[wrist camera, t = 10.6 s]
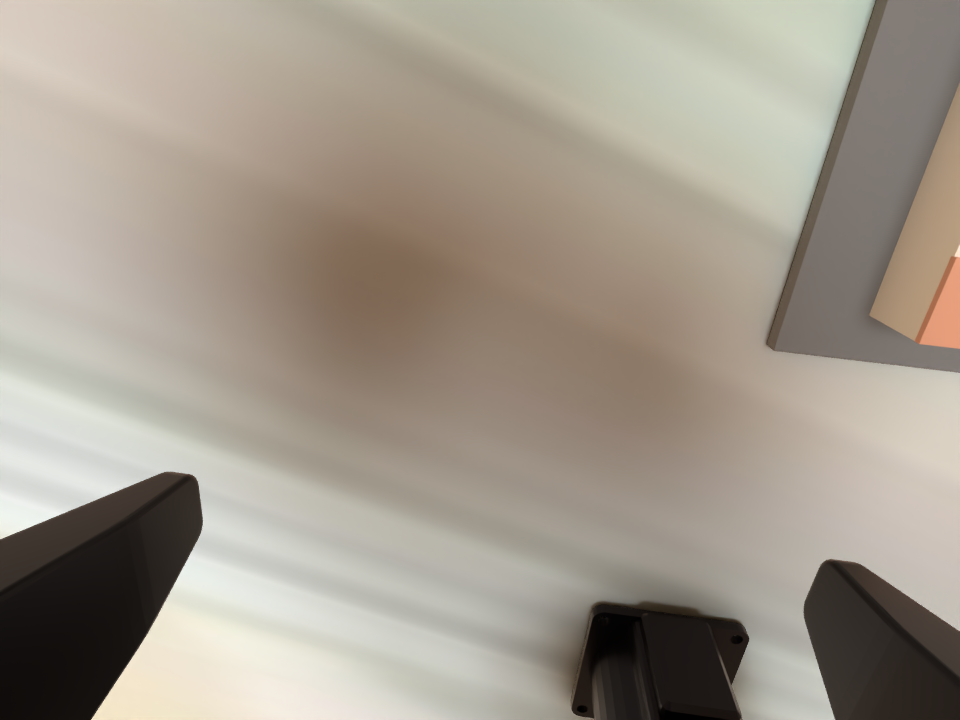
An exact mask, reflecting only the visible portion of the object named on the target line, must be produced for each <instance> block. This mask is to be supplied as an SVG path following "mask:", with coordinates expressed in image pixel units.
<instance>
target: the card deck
mask: <svg viewBox="0 0 960 720" xmlns="http://www.w3.org/2000/svg"><path fill="white" fill-rule="evenodd" d="M869 316H871V317H873V318H874V319H876V320H878V321H880V322H882V323H883V324H885V325H887V326H889V327H890V328H892V329H894V330H896V331H897V332H899V333H901V334H903V335H905V336H906V337H908V338H910V339H912V340H913V341H915V342H916V343H918V344H923V345H932V346H940V347H949V348H957V349H960V83H959V85H958V88H957V91H956V93H955V96H954V98H953V101H952V103H951V106H950V108H949V111H948V114H947V116H946V119H945V121H944V124H943V126H942V129H941V132H940V134H939V137H938V139H937V142H936V144H935V147H934V150H933V152H932V155H931V157H930V160H929V162H928V165H927V168H926V170H925V173H924V175H923V178H922V180H921V183H920V186H919V188H918V191H917V193H916V196H915V198H914V201H913V204H912V206H911V209H910V211H909V214H908V216H907V219H906V222H905V224H904V227H903V229H902V232H901V234H900V237H899V240H898V242H897V245H896V247H895V250H894V252H893V255H892V258H891V260H890V263H889V265H888V268H887V270H886V273H885V275H884V278H883V281H882V283H881V286H880V288H879V291H878V293H877V296H876V299H875V301H874V304H873V306H872V309H871V311H870V314H869Z"/></svg>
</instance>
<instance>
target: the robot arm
mask: <svg viewBox="0 0 960 720" xmlns="http://www.w3.org/2000/svg"><path fill="white" fill-rule="evenodd" d="M202 525H203V517H202V509H201V501H200V493H199V485H198V481H197V479H196V478H195V477H194V476H193V475H190V474H184V473H176V472H164V473H161V474H158V475H156V476H153V477H151V478H149V479H146V480H144V481H141V482H139V483H136V484H134V485H132V486H129V487H127V488H124V489H122V490H119V491H117V492H115V493H112V494H110V495H107V496H105V497H102V498H100V499H98V500H95V501H93V502H90V503H88V504H85V505H83V506H81V507H78V508H76V509H73V510H71V511H68V512H66V513H64V514H61V515H59V516H56V517H54V518H51V519H49V520H47V521H44V522H42V523H39V524H37V525H34V526H32V527H30V528H27V529H25V530H22V531H20V532H17V533H15V534H13V535H10V536H8V537H5V538H3V539H0V720H91V719H92V718H93V716H94V715H95V713H96V711H97V710H98V708H99V707H100V705H101V704H102V702H103V701H104V699H105V698H106V696H107V695H108V693H109V692H110V690H111V689H112V687H113V686H114V684H115V683H116V681H117V680H118V678H119V677H120V675H121V674H122V672H123V671H124V669H125V668H126V666H127V665H128V663H129V662H130V660H131V659H132V657H133V655H134V654H135V652H136V651H137V649H138V648H139V646H140V645H141V643H142V641H143V640H144V638H145V637H146V635H147V634H148V632H149V630H150V628H151V626H152V625H153V623H154V621H155V619H156V618H157V616H158V614H159V612H160V610H161V608H162V606H163V604H164V603H165V601H166V599H167V597H168V595H169V593H170V591H171V589H172V587H173V586H174V584H175V582H176V580H177V578H178V576H179V574H180V572H181V570H182V568H183V567H184V565H185V563H186V561H187V559H188V557H189V555H190V553H191V551H192V550H193V548H194V546H195V544H196V542H197V540H198V538H199V536H200V533H201V530H202ZM601 617H606V618H601ZM804 619H805V623H806V626H807V629H808V633H809V636H810V639H811V643H812V646H813V649H814V652H815V656H816V659H817V662H818V665H819V669H820V672H821V675H822V678H823V682H824V685H825V688H826V691H827V695H828V698H829V701H830V704H831V708H832V711H833V714H834V717H835V720H960V631H958V630H957V629H955V628H954V627H952V626H951V625H949V624H948V623H946V622H945V621H943V620H942V619H940V618H939V617H937V616H936V615H935V614H933V613H932V612H930V611H929V610H927V609H926V608H924V607H923V606H921V605H920V604H918V603H917V602H915V601H914V600H912V599H911V598H910V597H908V596H907V595H905V594H904V593H902V592H901V591H899V590H898V589H896V588H895V587H893V586H892V585H890V584H889V583H887V582H886V581H885V580H883V579H882V578H880V577H879V576H877V575H876V574H874V573H873V572H871V571H870V570H868V569H867V568H865V567H864V566H862V565H861V564H858V563H855V562H849V561H841V560H834V559H829V560H826V561H824V562H823V563H822V564H821V566H820V568H819V570H818V572H817V574H816V577H815V579H814V581H813V584H812V586H811V588H810V591H809V593H808V595H807V598H806V600H805V603H804ZM735 635H736V636H735ZM748 642H749V636H748V634H747V632H746V629H745V627H744V626H742V625H741V624H738V623H732V622H725V621H718V620H711V619H703V618H696V617H689V616H682V615H674V614H667V613H660V612H653V611H646V610H638V609H631V608H624V607H617V606H610V605H599V606H596V607H595V608H593V610H592V612H591V616H590V620H589V624H588V628H587V633H586V637H585V641H584V646H583V650H582V654H581V658H580V663H579V667H578V671H577V676H576V680H575V684H574V688H573V693H572V697H571V707H572V712H573V713H574V714H576V715H578V716H582V717H589V718H594V720H742V717H741V712H740V709H739V706H738V703H737V700H736V697H735V695H734V692H733V689H732V686H731V685H732V683H733V680H734V678H735V675H736V673H737V670H738V668H739V665H740V662H741V660H742V657H743V655H744V652H745V650H746V647H747V645H748Z"/></svg>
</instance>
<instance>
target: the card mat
mask: <svg viewBox="0 0 960 720" xmlns="http://www.w3.org/2000/svg"><path fill="white" fill-rule="evenodd" d="M959 83H960V0H876V3H875V6H874V10H873V13H872V16H871V19H870V22H869V25H868V28H867V31H866V35H865V38H864V41H863V44H862V47H861V50H860V53H859V57H858V60H857V63H856V66H855V69H854V72H853V75H852V79H851V82H850V85H849V88H848V91H847V94H846V97H845V100H844V104H843V107H842V110H841V113H840V116H839V119H838V122H837V126H836V129H835V132H834V135H833V138H832V141H831V144H830V148H829V151H828V154H827V157H826V160H825V163H824V166H823V169H822V173H821V176H820V179H819V182H818V185H817V188H816V191H815V195H814V198H813V201H812V204H811V207H810V210H809V213H808V216H807V220H806V223H805V226H804V229H803V232H802V235H801V238H800V242H799V245H798V248H797V251H796V254H795V257H794V260H793V264H792V267H791V270H790V273H789V276H788V279H787V282H786V285H785V289H784V292H783V295H782V298H781V301H780V304H779V307H778V311H777V314H776V317H775V320H774V323H773V326H772V329H771V333H770V336H769V339H768V342H767V345H768V346H769V347H770V348H771V349H772V350H774V351H780V352H789V353H797V354H806V355H814V356H823V357H831V358H840V359H848V360H857V361H865V362H874V363H882V364H891V365H899V366H908V367H916V368H924V369H933V370H941V371H950V372H958V373H960V349H957V348H949V347H940V346H932V345H923V344H918V343H916V342H915V341H913V340H912V339H910V338H908V337H906V336H905V335H903V334H901V333H899V332H897V331H896V330H894V329H892V328H890V327H889V326H887V325H885V324H883V323H882V322H880V321H878V320H876V319H874V318H873V317H871V316H869V314H870V311H871V309H872V306H873V304H874V301H875V299H876V296H877V293H878V291H879V288H880V286H881V283H882V281H883V278H884V275H885V273H886V270H887V268H888V265H889V263H890V260H891V258H892V255H893V252H894V250H895V247H896V245H897V242H898V240H899V237H900V234H901V232H902V229H903V227H904V224H905V222H906V219H907V216H908V214H909V211H910V209H911V206H912V204H913V201H914V198H915V196H916V193H917V191H918V188H919V186H920V183H921V180H922V178H923V175H924V173H925V170H926V168H927V165H928V162H929V160H930V157H931V155H932V152H933V150H934V147H935V144H936V142H937V139H938V137H939V134H940V132H941V129H942V126H943V124H944V121H945V119H946V116H947V114H948V111H949V108H950V106H951V103H952V101H953V98H954V96H955V93H956V91H957V88H958V85H959Z"/></svg>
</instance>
